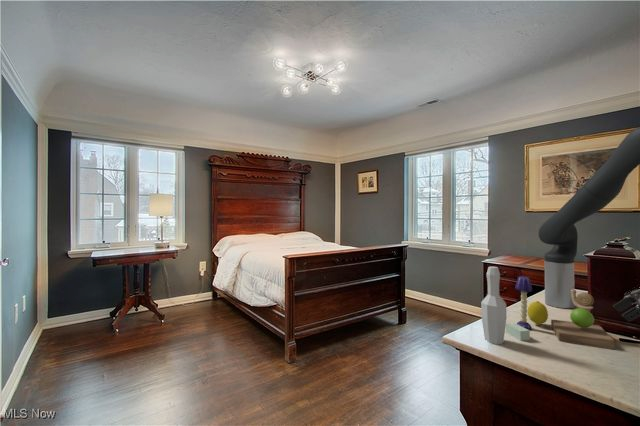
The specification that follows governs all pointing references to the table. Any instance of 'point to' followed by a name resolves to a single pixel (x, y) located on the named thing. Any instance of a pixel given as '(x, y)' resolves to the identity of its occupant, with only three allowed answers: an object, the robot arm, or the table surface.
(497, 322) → the low poly bottle
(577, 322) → the snail figurine
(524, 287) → the toy lamp
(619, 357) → the table surface
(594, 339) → the walnut block
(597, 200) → the robot arm
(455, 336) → the table surface
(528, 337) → the sage block
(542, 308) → the lemon
